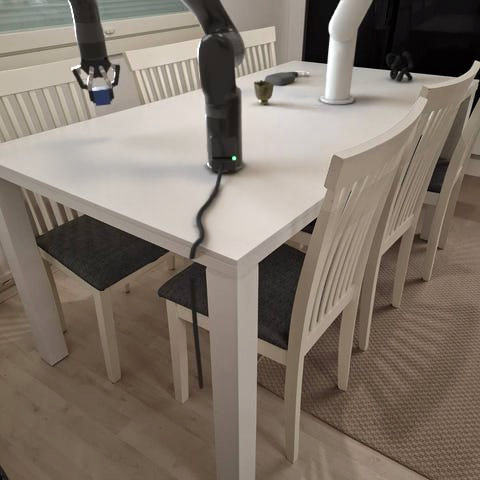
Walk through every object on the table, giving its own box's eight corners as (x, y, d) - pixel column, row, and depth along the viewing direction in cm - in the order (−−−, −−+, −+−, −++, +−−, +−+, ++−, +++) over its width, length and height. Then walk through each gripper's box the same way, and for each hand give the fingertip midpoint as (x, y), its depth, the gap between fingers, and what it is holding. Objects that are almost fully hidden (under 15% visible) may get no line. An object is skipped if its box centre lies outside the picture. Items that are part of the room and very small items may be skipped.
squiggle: (400, 92, 202) (376, 71, 205) (417, 76, 202) (392, 56, 205) (405, 81, 191) (380, 59, 194) (423, 64, 191) (397, 42, 194)
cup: (250, 105, 169) (250, 83, 165) (259, 100, 175) (259, 79, 171) (268, 107, 166) (268, 85, 162) (276, 102, 172) (277, 80, 168)
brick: (110, 104, 132) (108, 89, 130) (96, 106, 131) (92, 90, 129) (109, 100, 136) (107, 85, 134) (95, 102, 135) (92, 87, 133)
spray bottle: (262, 82, 200) (292, 74, 216) (282, 86, 194) (312, 76, 210) (262, 76, 198) (293, 67, 214) (282, 79, 192) (312, 70, 208)
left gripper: (115, 36, 129) (125, 96, 138) (64, 40, 126) (77, 101, 135) (118, 39, 123) (128, 102, 132) (63, 43, 120) (78, 107, 129)
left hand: (102, 101), depth 133 cm, fingers closed on brick, 4 cm apart
